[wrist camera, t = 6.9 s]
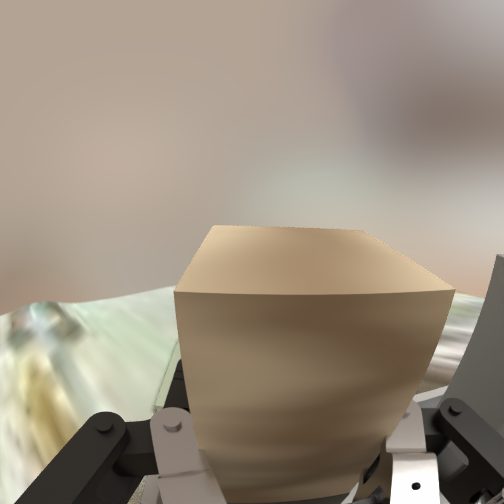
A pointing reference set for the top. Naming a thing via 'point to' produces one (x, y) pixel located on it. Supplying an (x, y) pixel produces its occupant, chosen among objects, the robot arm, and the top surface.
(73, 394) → the top surface
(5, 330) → the top surface
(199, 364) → the banded wooden block
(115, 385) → the top surface
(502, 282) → the slate box
